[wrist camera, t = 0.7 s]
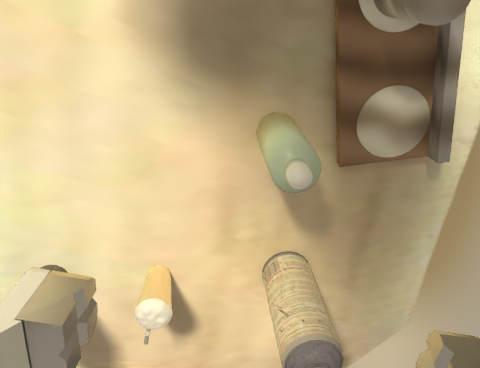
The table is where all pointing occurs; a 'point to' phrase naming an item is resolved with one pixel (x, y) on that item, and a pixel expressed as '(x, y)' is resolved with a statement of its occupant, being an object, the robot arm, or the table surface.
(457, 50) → the rail stand
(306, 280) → the aerosol can
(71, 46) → the table surface
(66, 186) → the table surface
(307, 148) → the slim bottle
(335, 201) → the table surface
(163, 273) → the milkshake
